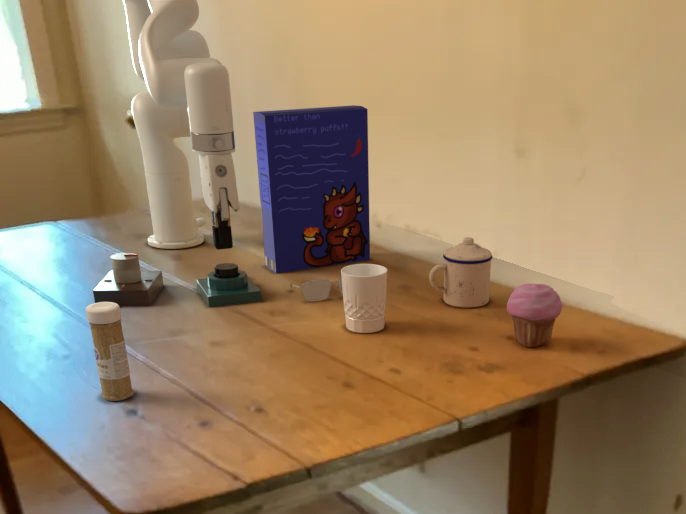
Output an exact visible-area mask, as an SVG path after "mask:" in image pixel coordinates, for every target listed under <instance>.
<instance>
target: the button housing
mask: <svg viewBox="0 0 686 514" xmlns="http://www.w3.org/2000/svg"><path fill="white" fill-rule="evenodd" d="M238 273H239V276H237V277H234V278H217V277H215V270H214V271H213V270H212V271H210V272H209V273H208V274H206V278H196V280H195V281H196V290H197V291H198V292H199V294H200V296H201V297H202V298H203V300H204V302H205V303H206V305H207V306H208V308H212V307H213V308H214V307H222V306H232V305H239V304H240V305H241V304H249V303H259V302H262V301H263V299H262V291H261V289H260V288H259V287H258V286H257V284H255V282H254V281H253V280H252V279H251V277H250V276H249V275H248V274H247V272H246V271H244V270H241V269H238Z"/></svg>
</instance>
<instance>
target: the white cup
mask: <svg viewBox="0 0 686 514" xmlns="http://www.w3.org/2000/svg"><path fill="white" fill-rule="evenodd" d="M340 278H342V291H343V295H342V301H343V310H344V317H345V318H344V319H345V328H346V329H347V330H348V331H350V332H353V333H356V334H357V333H359V334H374V333H377V332H380V331H382V330H384V328H385V325H386V310H387V294H388V292H387V291H388V268H387V267H385V266H383V265H380V264H374V263H354V264H350V265H346V266H344V267H342V268H341V269H340Z"/></svg>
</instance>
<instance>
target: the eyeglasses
mask: <svg viewBox="0 0 686 514" xmlns="http://www.w3.org/2000/svg"><path fill="white" fill-rule="evenodd" d="M332 283H337V289H338V291H340V293H341V295H342V296H343V291H342V278H341V277H340V278H339V279H338V280H332V281H330V279H326V278H319V279H310V280H307V281H304V282H303V283H302V284H301V285H300V286H299V285H296V284H293V283H291V284H290V286H293V287H296V288H299V289H302V294H303V297H304V299H305V300H306V301H307V302H310V303H311V302H313V303H314V302H321V301H325V300H326V299H328V298H329V296H330V292H331V288H332Z"/></svg>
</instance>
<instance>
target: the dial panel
mask: <svg viewBox="0 0 686 514" xmlns="http://www.w3.org/2000/svg"><path fill="white" fill-rule="evenodd" d="M140 271H141V277H142V280H141V281H139V282H136V283H130V284H120V283H116V282H115V280H114V274H113V270H110V271H109V272H108V273H107V274H106V275H105V276H104V278H102V280H100V282H99V283H98V284H97V286H96V287H95V288H94V289H92V294H93V299H94V303H98V302H113V303H116V304H118V305H119V307H151V305H152V304H153V302H154V301H155V300H156V298H157V297H158V295H159V293H160V292H161V291H162V289H163V287H164V286H165V285H164V279H163V271H162V270H140Z"/></svg>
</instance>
